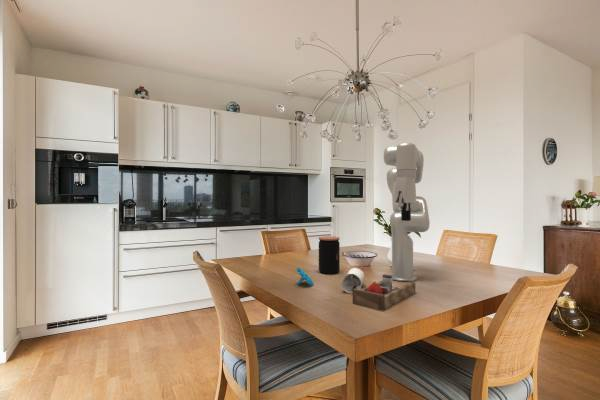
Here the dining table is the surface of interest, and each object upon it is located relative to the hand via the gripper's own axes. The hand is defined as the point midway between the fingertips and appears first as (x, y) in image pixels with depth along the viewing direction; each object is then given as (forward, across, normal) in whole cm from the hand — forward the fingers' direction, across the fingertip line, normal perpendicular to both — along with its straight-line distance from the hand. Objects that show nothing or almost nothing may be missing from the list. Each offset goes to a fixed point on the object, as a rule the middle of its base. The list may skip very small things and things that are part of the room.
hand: (406, 220), depth 131 cm
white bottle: (+29, +9, -20) cm, 36 cm away
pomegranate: (+29, +21, -2) cm, 36 cm away
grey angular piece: (+29, +11, -2) cm, 31 cm away
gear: (+29, +19, -38) cm, 51 cm away
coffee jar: (+30, -7, -45) cm, 54 cm away
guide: (+29, +12, -2) cm, 31 cm away
